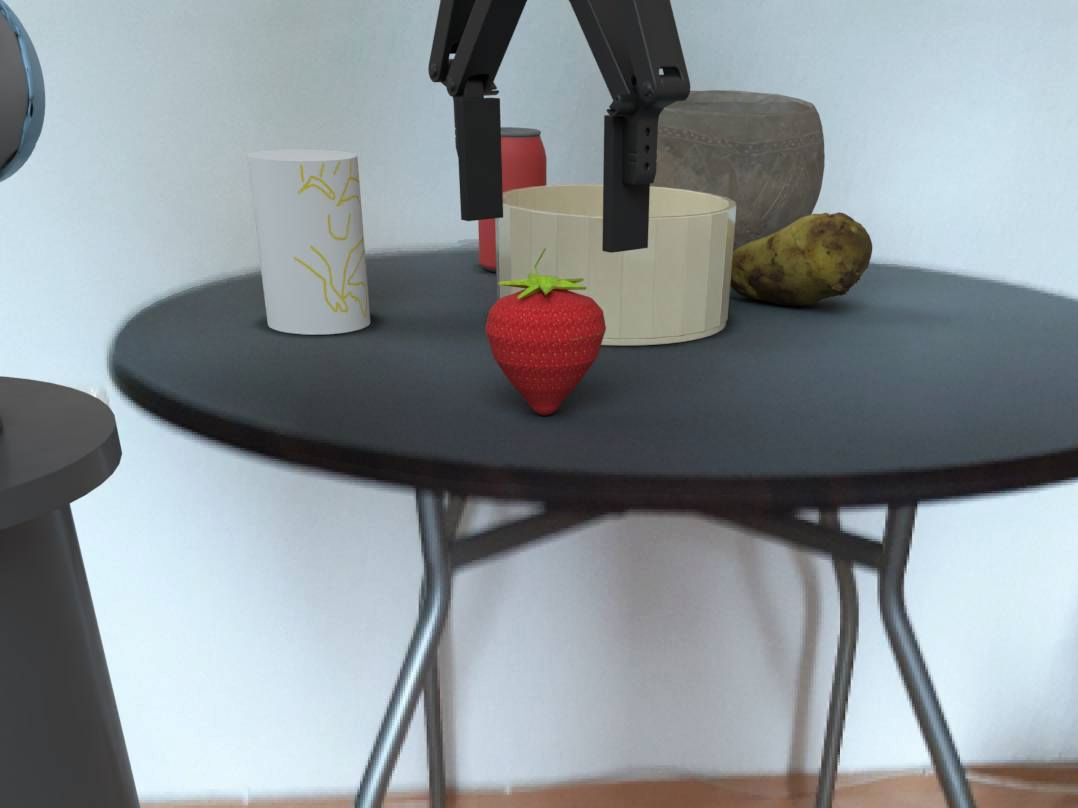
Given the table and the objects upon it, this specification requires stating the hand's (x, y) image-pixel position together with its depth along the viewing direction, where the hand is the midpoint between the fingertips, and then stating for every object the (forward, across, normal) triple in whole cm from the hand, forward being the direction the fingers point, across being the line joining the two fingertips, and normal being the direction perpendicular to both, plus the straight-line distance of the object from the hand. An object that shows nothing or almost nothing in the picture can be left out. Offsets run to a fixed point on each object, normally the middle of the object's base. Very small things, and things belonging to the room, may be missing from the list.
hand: (549, 234), depth 70 cm
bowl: (+11, +31, -45) cm, 56 cm away
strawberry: (+11, 0, 0) cm, 11 cm away
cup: (+11, +31, -1) cm, 33 cm away
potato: (+11, +13, -38) cm, 42 cm away
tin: (+11, +19, -22) cm, 31 cm away
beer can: (+11, +41, -28) cm, 51 cm away
